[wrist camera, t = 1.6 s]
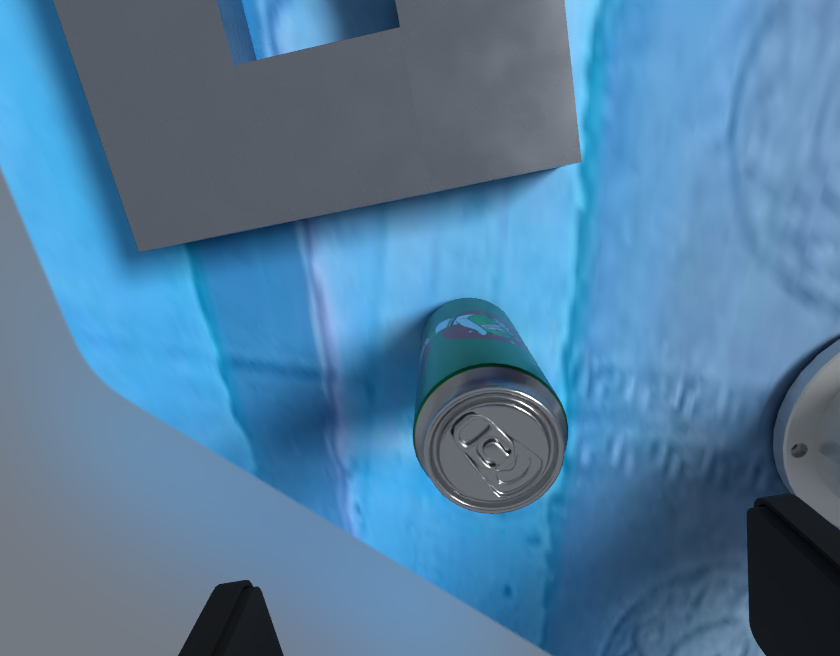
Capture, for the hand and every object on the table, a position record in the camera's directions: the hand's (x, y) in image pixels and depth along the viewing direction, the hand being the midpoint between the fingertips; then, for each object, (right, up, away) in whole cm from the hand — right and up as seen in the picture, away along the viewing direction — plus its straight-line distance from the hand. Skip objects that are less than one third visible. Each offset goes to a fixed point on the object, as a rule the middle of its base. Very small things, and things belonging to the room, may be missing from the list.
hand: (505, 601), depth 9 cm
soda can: (+1, +5, +17) cm, 18 cm away
